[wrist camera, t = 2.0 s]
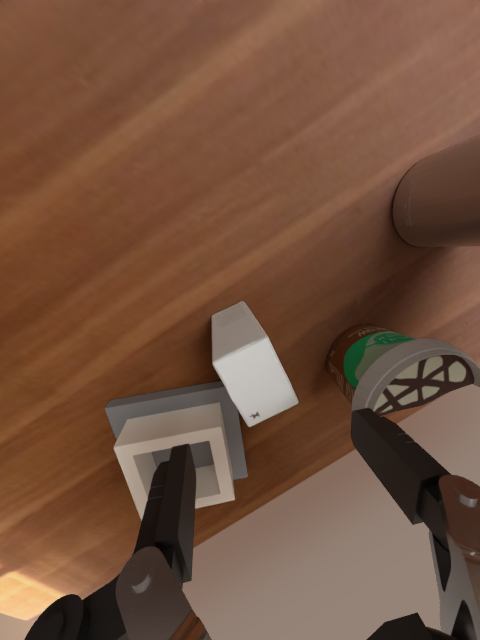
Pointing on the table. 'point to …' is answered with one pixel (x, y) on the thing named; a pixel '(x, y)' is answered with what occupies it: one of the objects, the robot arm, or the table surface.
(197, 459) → the box stand
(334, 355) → the food container
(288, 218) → the table surface
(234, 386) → the skincare box
